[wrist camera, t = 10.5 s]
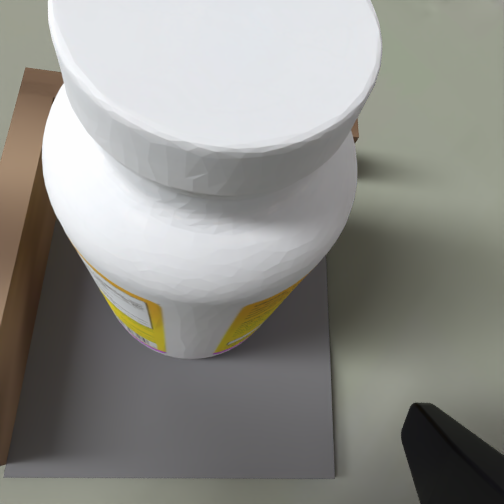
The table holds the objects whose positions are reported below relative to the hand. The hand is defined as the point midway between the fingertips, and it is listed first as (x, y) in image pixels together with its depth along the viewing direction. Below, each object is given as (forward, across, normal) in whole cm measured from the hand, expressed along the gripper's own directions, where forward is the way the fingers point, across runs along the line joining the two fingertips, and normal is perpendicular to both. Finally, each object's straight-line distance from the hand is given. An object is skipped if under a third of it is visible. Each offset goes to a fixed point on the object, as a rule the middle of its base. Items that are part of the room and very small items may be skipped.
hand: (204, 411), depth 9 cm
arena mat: (+9, 0, +3) cm, 9 cm away
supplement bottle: (+9, 0, +2) cm, 9 cm away
